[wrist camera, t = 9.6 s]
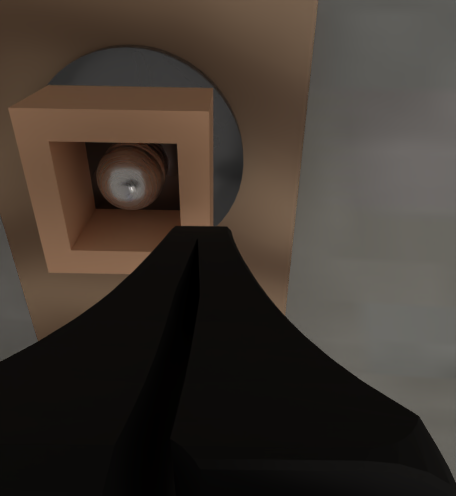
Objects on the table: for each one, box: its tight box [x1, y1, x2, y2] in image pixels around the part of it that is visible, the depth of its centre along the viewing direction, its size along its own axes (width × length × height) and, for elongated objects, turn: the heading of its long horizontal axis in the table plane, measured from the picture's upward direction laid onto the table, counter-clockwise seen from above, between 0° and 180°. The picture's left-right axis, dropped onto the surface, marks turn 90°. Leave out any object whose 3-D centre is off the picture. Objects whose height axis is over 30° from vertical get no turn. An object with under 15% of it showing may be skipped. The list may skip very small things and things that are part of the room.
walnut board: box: [0, 0, 318, 341], centre depth 19 cm, size 20×12×2 cm, turn 179°
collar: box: [8, 85, 213, 274], centre depth 14 cm, size 5×5×3 cm
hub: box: [47, 44, 244, 226], centre depth 15 cm, size 8×8×3 cm
